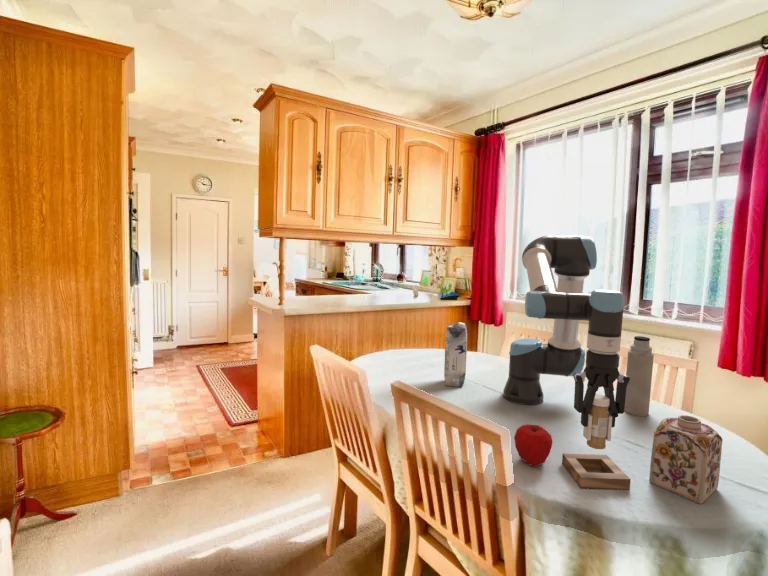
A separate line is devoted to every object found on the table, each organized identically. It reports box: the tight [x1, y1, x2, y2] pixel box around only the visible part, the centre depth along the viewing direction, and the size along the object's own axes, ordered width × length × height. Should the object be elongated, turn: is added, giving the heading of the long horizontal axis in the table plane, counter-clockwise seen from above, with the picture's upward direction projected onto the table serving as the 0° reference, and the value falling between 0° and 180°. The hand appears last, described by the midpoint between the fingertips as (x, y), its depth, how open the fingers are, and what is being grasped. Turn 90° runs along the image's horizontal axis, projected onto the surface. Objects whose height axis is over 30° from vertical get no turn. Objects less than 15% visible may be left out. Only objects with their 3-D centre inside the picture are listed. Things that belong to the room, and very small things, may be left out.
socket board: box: [561, 452, 631, 492], centre depth 109 cm, size 12×12×3 cm
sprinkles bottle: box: [586, 393, 610, 450], centre depth 108 cm, size 5×5×14 cm
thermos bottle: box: [624, 335, 654, 417], centre depth 151 cm, size 8×8×28 cm
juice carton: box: [443, 321, 468, 388], centre depth 179 cm, size 9×10×27 cm
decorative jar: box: [648, 415, 723, 505], centre depth 105 cm, size 12×12×18 cm
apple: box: [513, 423, 553, 467], centre depth 115 cm, size 10×10×11 cm
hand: (596, 437), depth 108 cm, fingers closed on sprinkles bottle, 4 cm apart
